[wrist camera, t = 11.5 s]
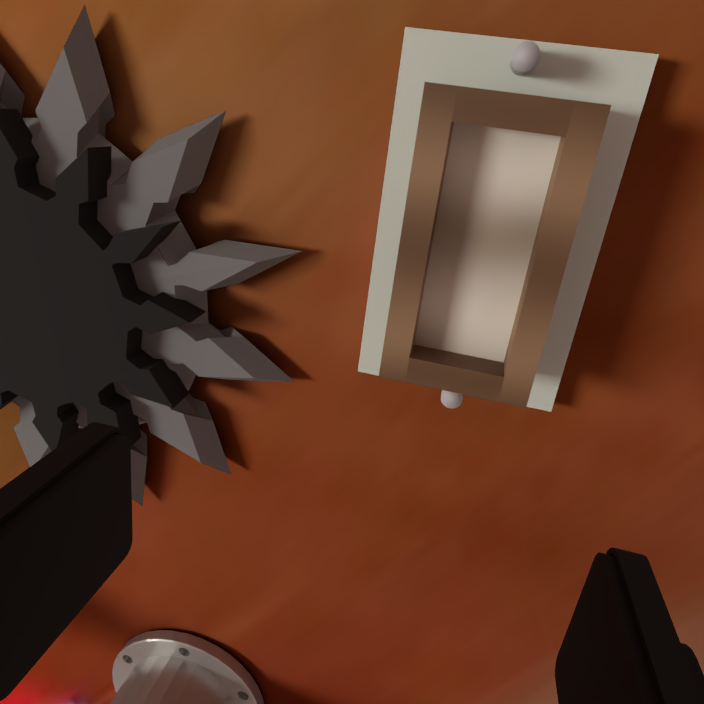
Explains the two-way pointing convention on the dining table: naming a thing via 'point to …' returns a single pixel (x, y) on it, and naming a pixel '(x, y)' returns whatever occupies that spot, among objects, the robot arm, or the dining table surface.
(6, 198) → the decorative piece
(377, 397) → the dining table surface
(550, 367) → the panel
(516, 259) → the frame
